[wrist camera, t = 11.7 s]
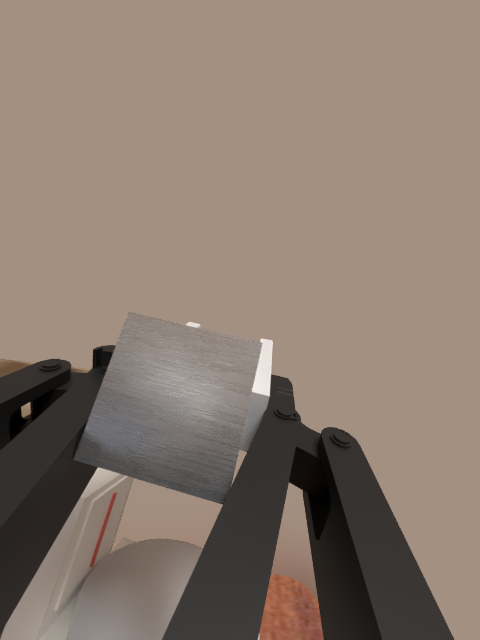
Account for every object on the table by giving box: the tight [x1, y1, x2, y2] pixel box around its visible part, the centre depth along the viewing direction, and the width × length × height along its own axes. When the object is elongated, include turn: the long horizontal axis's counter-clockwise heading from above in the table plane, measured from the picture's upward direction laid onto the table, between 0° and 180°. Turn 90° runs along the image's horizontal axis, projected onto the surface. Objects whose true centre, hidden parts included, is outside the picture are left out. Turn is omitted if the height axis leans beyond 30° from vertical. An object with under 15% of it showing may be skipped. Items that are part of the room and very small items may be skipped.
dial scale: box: [0, 468, 203, 640], centre depth 18 cm, size 13×15×10 cm
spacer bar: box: [73, 312, 263, 504], centre depth 21 cm, size 30×4×4 cm, turn 177°
